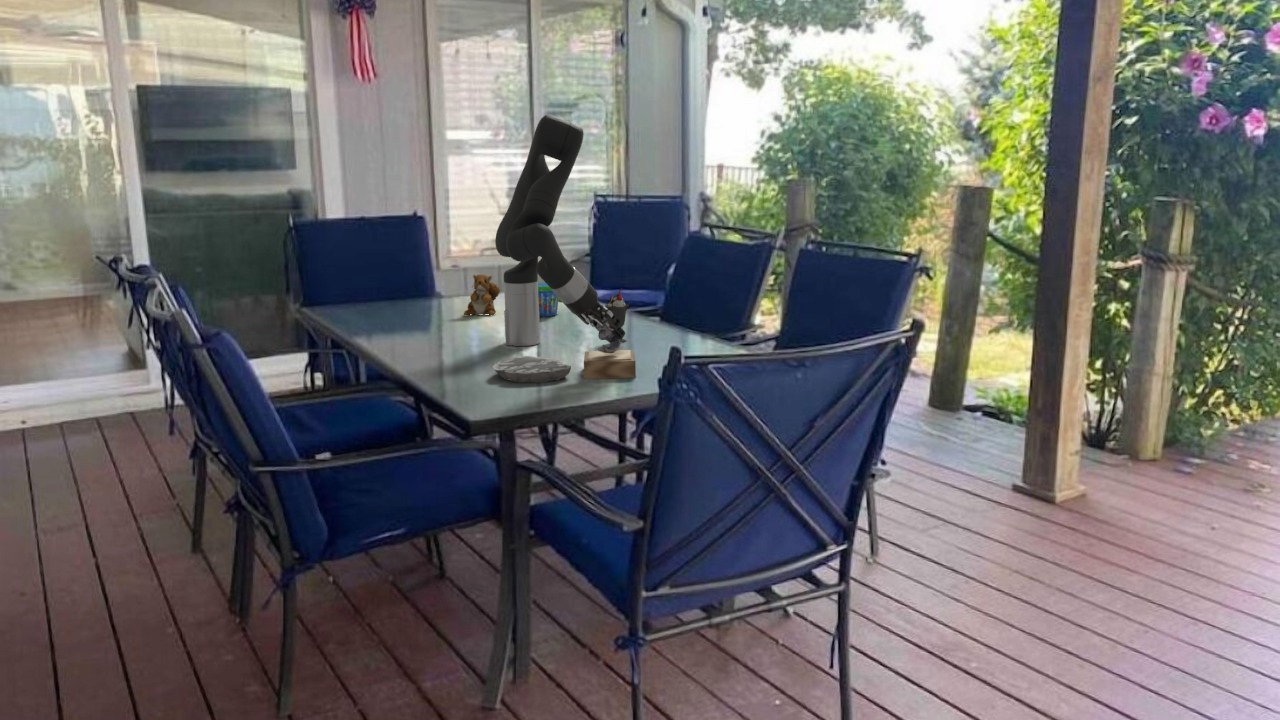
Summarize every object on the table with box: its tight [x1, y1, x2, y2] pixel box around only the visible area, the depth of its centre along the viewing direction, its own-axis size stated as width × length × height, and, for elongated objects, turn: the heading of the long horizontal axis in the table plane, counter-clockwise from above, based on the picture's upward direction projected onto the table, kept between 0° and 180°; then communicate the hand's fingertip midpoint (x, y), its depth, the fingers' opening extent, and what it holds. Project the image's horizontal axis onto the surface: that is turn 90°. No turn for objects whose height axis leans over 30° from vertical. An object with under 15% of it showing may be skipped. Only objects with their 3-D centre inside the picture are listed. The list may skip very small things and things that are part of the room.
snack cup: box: [538, 282, 563, 318], centre depth 312 cm, size 16×10×10 cm
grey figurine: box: [596, 318, 622, 353], centre depth 229 cm, size 5×5×10 cm
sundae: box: [604, 288, 630, 343], centre depth 267 cm, size 7×7×15 cm
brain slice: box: [491, 355, 572, 384], centre depth 228 cm, size 20×17×3 cm
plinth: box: [583, 349, 637, 380], centre depth 231 cm, size 12×12×4 cm
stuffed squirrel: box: [463, 274, 501, 316], centre depth 317 cm, size 10×14×13 cm
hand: (614, 334), depth 230 cm, fingers closed on grey figurine, 5 cm apart
